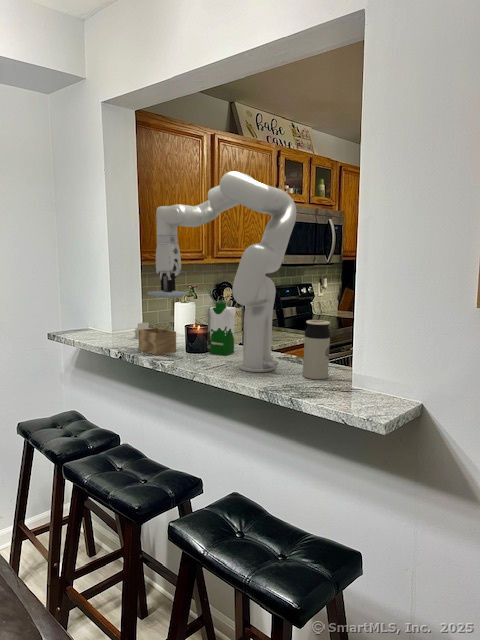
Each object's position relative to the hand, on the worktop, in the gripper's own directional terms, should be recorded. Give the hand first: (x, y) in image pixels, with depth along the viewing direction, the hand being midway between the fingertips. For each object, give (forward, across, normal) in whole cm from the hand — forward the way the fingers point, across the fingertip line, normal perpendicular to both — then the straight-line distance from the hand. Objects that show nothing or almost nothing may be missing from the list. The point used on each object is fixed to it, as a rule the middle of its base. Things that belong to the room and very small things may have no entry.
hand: (168, 290), depth 176 cm
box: (+24, +8, 0) cm, 25 cm away
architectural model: (+24, +35, -11) cm, 44 cm away
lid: (+2, 0, 0) cm, 2 cm away
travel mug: (+26, -56, -16) cm, 64 cm away
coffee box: (+25, -2, -24) cm, 35 cm away
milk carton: (+25, -11, -17) cm, 32 cm away
